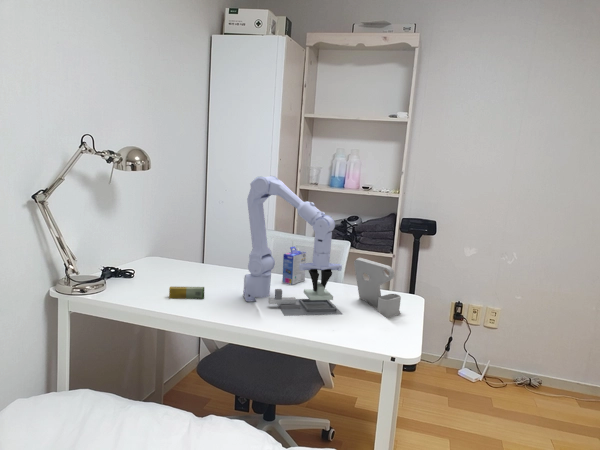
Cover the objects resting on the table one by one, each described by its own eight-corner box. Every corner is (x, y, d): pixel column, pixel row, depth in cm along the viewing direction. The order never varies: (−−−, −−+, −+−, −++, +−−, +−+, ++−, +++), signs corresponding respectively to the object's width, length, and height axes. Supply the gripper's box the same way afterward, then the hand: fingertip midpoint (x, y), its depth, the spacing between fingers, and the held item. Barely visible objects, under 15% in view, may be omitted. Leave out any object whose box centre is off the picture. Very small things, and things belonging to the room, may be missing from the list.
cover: (310, 300, 153) (311, 287, 153) (303, 292, 161) (304, 280, 160) (332, 299, 155) (334, 287, 155) (325, 292, 163) (326, 280, 162)
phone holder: (402, 313, 162) (408, 264, 160) (385, 319, 156) (390, 267, 153) (364, 300, 175) (368, 253, 172) (346, 304, 168) (350, 256, 165)
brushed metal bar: (269, 304, 153) (270, 291, 152) (268, 301, 155) (269, 289, 154) (296, 303, 155) (297, 290, 155) (294, 301, 157) (295, 288, 157)
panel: (284, 320, 148) (284, 312, 147) (273, 303, 163) (274, 296, 162) (342, 318, 153) (343, 310, 153) (327, 302, 168) (328, 295, 168)
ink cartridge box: (294, 277, 198) (296, 244, 196) (305, 280, 195) (307, 246, 193) (281, 282, 190) (283, 247, 187) (292, 285, 187) (294, 250, 184)
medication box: (204, 297, 165) (204, 286, 164) (204, 299, 162) (204, 288, 161) (169, 296, 163) (169, 285, 162) (168, 299, 160) (168, 288, 159)
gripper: (304, 254, 150) (301, 294, 152) (346, 254, 154) (342, 294, 156) (298, 249, 157) (295, 288, 159) (339, 250, 161) (335, 287, 163)
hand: (318, 290), depth 158 cm, fingers closed on cover, 2 cm apart
